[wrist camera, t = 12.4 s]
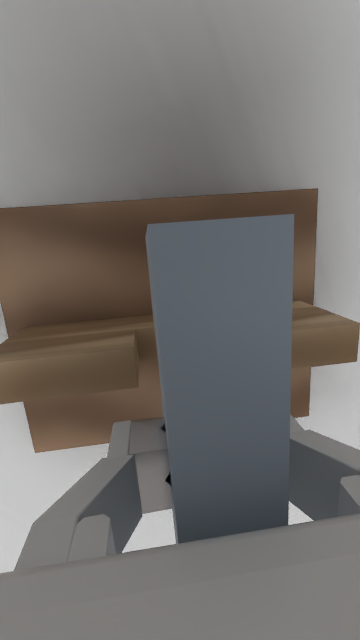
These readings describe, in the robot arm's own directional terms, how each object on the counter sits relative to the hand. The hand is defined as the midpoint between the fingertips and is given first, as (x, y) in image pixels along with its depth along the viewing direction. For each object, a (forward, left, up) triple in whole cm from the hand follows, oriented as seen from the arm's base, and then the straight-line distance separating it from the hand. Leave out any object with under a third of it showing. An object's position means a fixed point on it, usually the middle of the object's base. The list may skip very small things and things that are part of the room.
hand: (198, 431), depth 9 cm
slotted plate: (0, 0, -6) cm, 6 cm away
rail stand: (0, 0, -12) cm, 12 cm away
